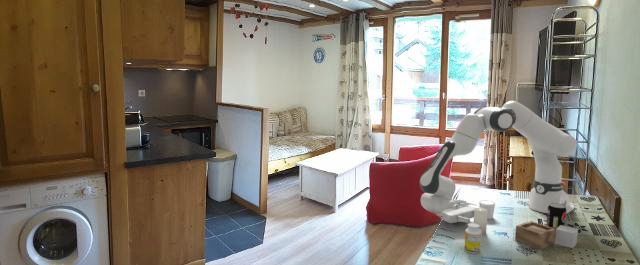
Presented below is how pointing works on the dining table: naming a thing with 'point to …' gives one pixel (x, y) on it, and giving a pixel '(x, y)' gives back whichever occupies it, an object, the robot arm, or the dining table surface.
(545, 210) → the robot arm
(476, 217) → the white pillar candle
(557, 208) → the beverage can
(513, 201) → the dining table surface
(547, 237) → the brown wooden open box
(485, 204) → the shot glass
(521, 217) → the dining table surface
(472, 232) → the supplement bottle
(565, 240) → the grey block
